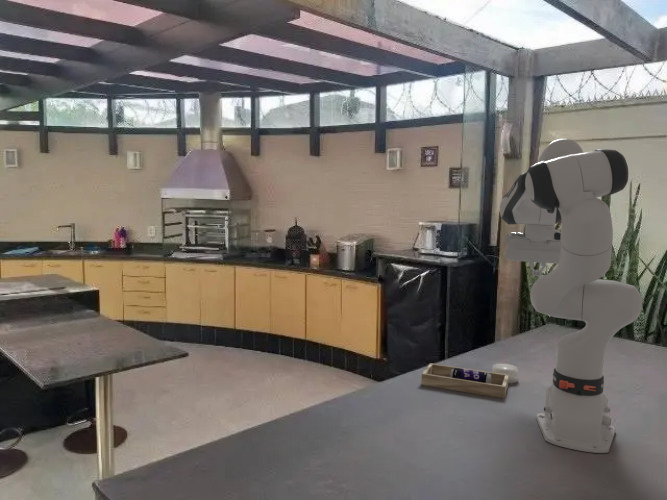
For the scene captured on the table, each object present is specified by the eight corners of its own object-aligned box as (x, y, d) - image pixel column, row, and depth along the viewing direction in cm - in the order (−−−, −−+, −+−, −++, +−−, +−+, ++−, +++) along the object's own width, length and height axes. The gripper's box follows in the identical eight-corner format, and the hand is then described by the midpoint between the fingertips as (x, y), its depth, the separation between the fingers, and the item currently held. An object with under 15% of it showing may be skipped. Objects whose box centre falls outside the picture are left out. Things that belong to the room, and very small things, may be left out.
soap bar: (516, 385, 166) (517, 373, 166) (490, 381, 170) (491, 369, 169) (518, 377, 174) (519, 365, 173) (493, 373, 177) (494, 362, 176)
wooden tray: (504, 398, 155) (505, 387, 154) (421, 384, 164) (421, 374, 164) (508, 385, 166) (508, 374, 165) (429, 373, 175) (430, 363, 175)
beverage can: (454, 370, 168) (492, 376, 163) (451, 387, 166) (490, 394, 161) (451, 364, 163) (491, 370, 159) (448, 382, 161) (488, 389, 156)
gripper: (505, 232, 170) (502, 274, 172) (573, 235, 163) (570, 279, 164) (506, 231, 176) (504, 272, 178) (573, 234, 168) (570, 277, 170)
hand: (536, 275), depth 171 cm, fingers closed
